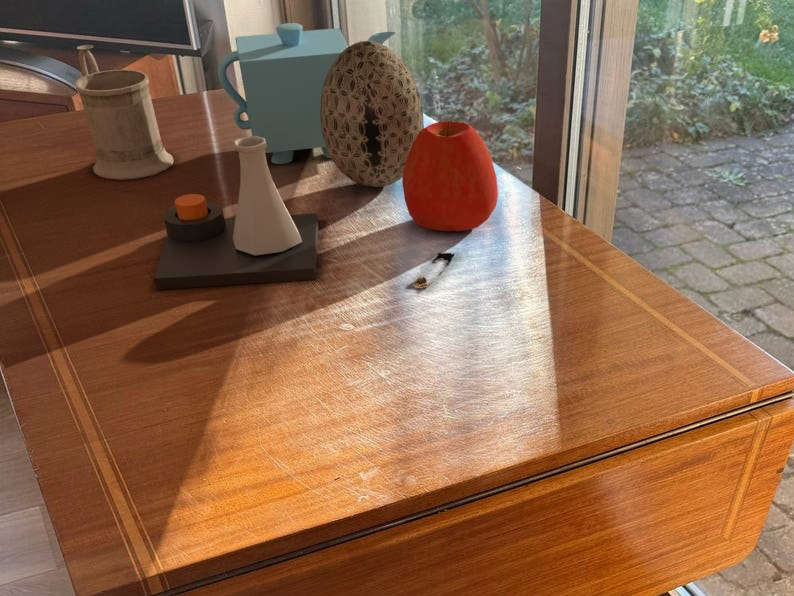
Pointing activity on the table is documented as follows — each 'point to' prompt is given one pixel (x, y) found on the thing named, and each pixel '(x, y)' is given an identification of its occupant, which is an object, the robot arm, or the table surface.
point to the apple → (449, 178)
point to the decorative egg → (370, 114)
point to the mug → (121, 121)
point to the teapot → (285, 85)
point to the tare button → (191, 207)
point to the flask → (260, 205)
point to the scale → (229, 253)
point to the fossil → (446, 256)
